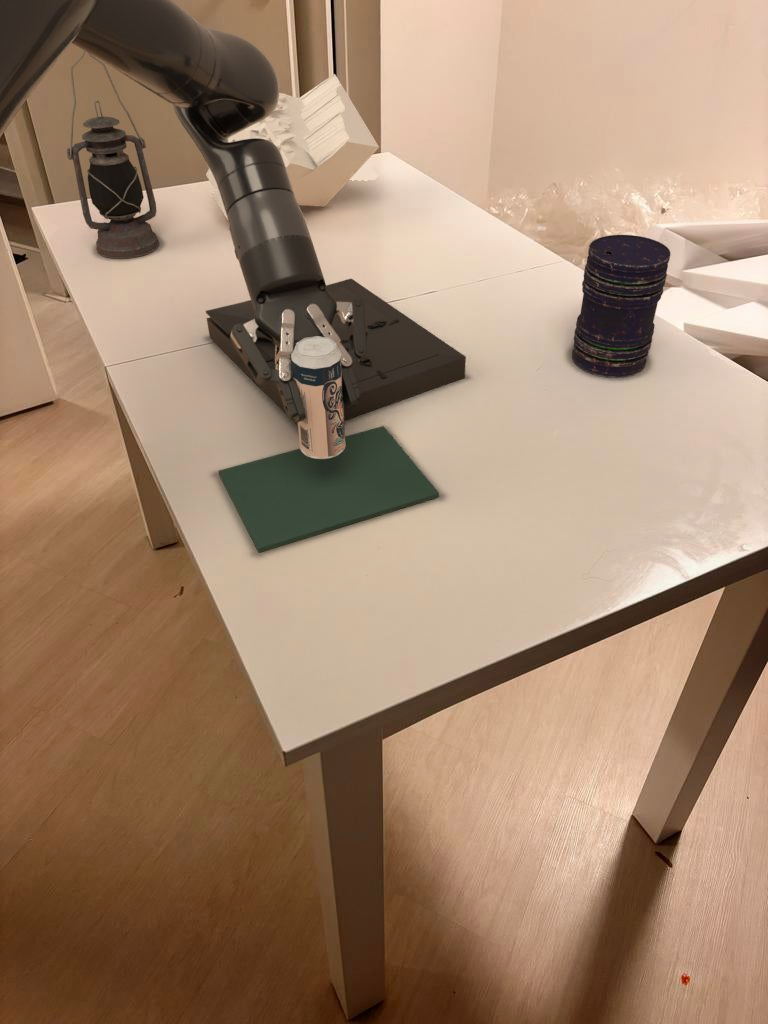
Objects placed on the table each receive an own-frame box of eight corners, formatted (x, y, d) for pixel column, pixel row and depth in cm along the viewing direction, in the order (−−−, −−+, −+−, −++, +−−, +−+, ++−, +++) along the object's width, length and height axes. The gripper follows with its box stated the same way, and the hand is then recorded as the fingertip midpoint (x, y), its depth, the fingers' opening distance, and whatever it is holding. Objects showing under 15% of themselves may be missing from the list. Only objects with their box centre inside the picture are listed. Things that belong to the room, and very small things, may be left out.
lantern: (153, 229, 144) (116, 38, 125) (173, 249, 137) (136, 50, 118) (84, 243, 140) (34, 47, 120) (100, 265, 133) (50, 60, 113)
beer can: (344, 462, 82) (339, 358, 74) (298, 463, 82) (287, 358, 74) (347, 436, 86) (342, 333, 78) (302, 435, 86) (293, 334, 78)
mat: (258, 553, 79) (257, 548, 78) (218, 474, 88) (218, 470, 88) (439, 497, 85) (439, 492, 85) (383, 430, 95) (383, 425, 94)
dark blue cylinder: (621, 336, 112) (643, 230, 102) (661, 370, 104) (688, 259, 95) (557, 348, 109) (573, 240, 100) (594, 383, 102) (614, 271, 92)
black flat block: (210, 338, 113) (305, 434, 94) (205, 310, 110) (303, 404, 91) (352, 297, 122) (464, 377, 104) (351, 271, 119) (466, 348, 101)
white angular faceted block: (221, 237, 142) (306, 135, 126) (178, 162, 143) (257, 52, 127) (296, 238, 158) (379, 147, 142) (256, 171, 159) (334, 74, 143)
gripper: (207, 246, 74) (263, 422, 73) (351, 220, 78) (404, 386, 78) (201, 279, 81) (252, 440, 80) (333, 253, 85) (382, 406, 85)
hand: (326, 412), depth 79 cm, fingers closed on beer can, 4 cm apart
